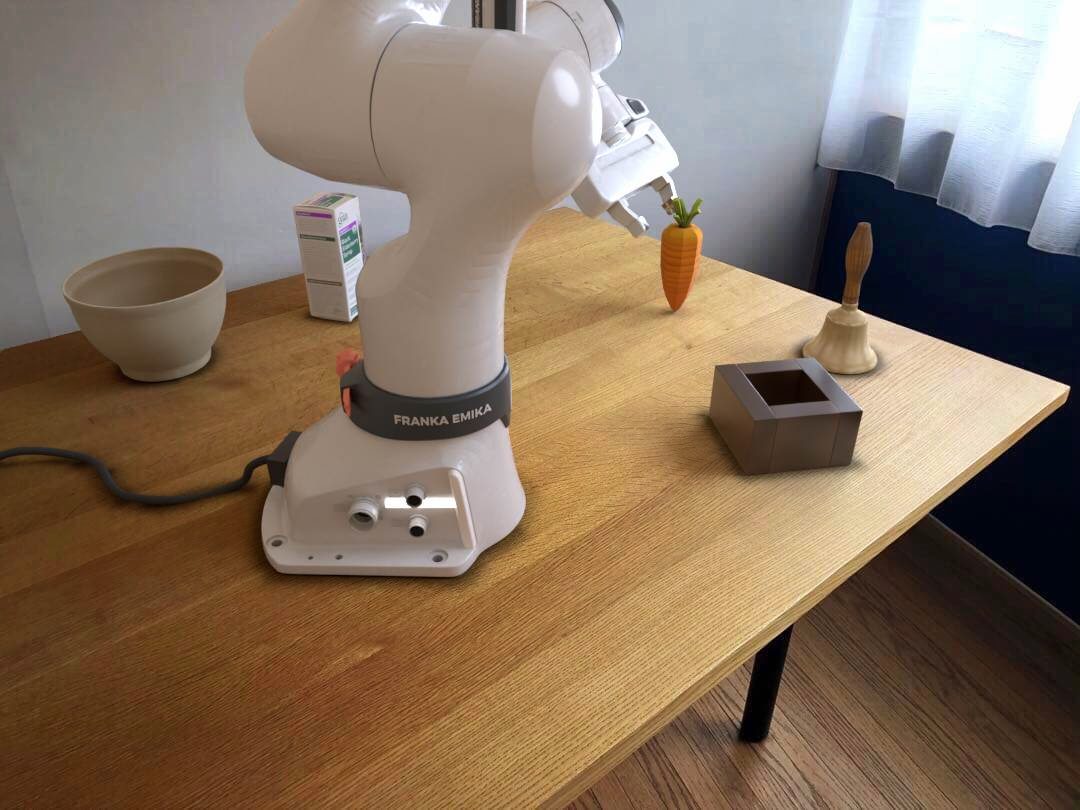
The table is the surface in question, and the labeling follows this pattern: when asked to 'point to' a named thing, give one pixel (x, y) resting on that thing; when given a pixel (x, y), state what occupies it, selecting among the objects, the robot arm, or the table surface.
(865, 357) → the hand bell
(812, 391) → the stand
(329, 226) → the syrup box
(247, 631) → the table surface
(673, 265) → the carrot
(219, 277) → the planter bowl
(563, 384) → the table surface
